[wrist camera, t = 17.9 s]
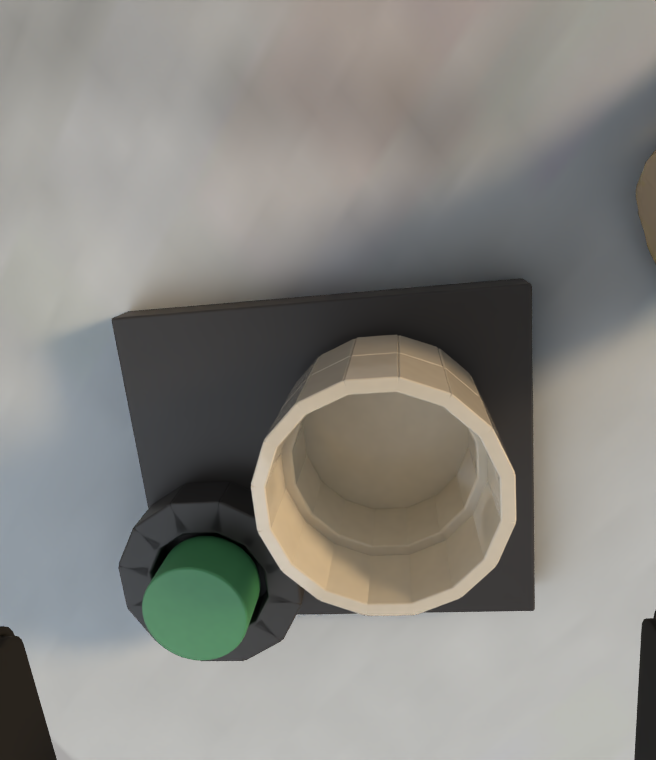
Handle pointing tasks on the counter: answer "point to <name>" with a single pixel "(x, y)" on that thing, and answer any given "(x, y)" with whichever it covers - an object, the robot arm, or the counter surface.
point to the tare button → (202, 598)
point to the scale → (264, 401)
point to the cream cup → (384, 480)
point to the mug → (648, 202)
